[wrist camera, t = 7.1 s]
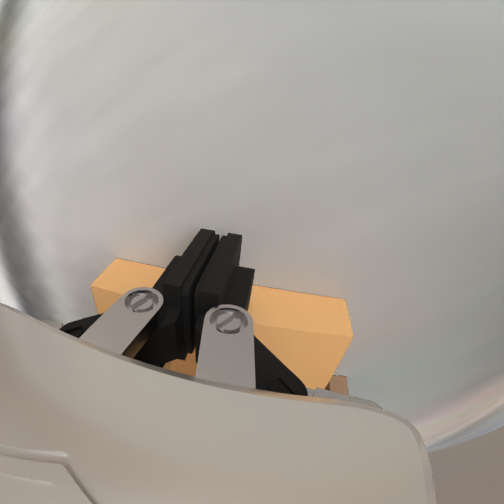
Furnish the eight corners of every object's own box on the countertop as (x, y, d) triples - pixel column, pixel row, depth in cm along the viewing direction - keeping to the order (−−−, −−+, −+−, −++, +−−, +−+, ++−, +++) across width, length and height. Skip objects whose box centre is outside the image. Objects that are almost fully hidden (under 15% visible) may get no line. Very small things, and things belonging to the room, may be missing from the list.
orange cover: (116, 258, 13) (90, 285, 11) (344, 299, 13) (353, 336, 10) (149, 394, 20) (139, 417, 18) (286, 423, 19) (284, 449, 17)
